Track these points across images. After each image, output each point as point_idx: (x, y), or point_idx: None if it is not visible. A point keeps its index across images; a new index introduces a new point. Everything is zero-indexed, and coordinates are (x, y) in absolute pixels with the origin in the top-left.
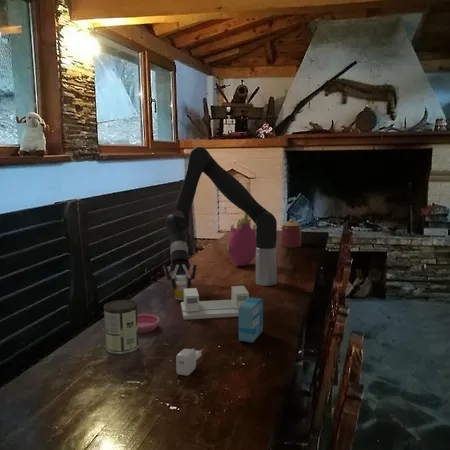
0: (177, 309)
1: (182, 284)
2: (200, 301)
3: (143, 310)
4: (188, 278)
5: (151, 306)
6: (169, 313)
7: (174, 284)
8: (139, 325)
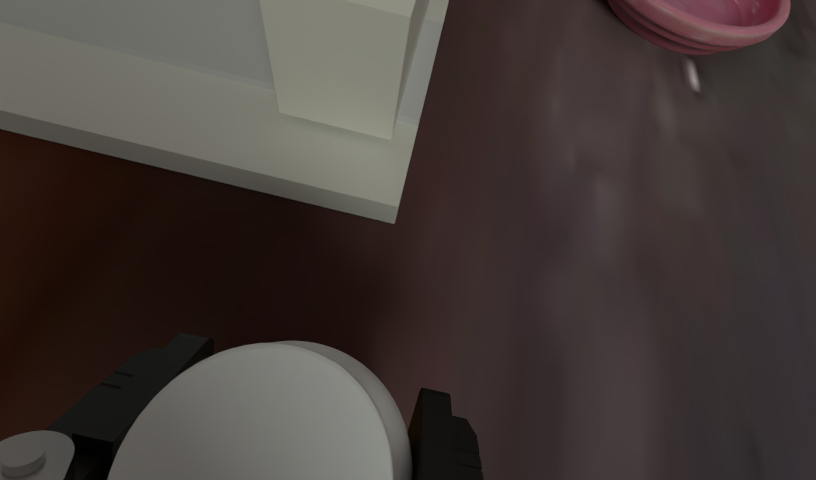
0: (442, 161)
1: (305, 344)
2: (216, 154)
3: (697, 242)
4: (74, 470)
5: (643, 311)
6: (513, 116)
7: (436, 412)
8: (690, 9)
